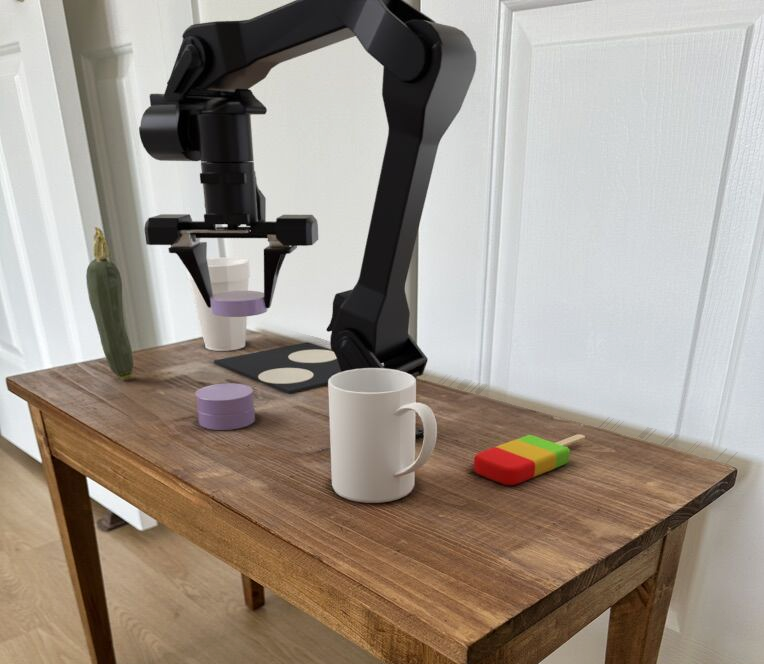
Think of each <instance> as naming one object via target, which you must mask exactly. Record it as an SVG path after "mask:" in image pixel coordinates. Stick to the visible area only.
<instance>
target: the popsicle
mask: <svg viewBox="0 0 764 664" xmlns="http://www.w3.org/2000/svg"><path fill="white" fill-rule="evenodd" d="M585 439H586V435H584V434H581V433H577V434H575V435H572V436H569V437H567V438H564V439H561V440H559V441H556V442H553V441H550V440H547V439H544V438H541V437H538V436H536V435H532V434H527V435H524V436H522V437H521V436H520V437H518V438H516V439H514V440H510V441H508V442H505V443H501V444H499V445H497V446H493V447H491V448H488V449H486V450H483V451H480V452H478V453H476V454H475V455H474V458H473V471H474V472H475V473H476V474H477V475H479V476H482V477H483V478H486V479H488V480H491V481H494V482H496V483H499V484H501V485H505V486H515V485H519V484H521V483H523V482H525V481H528V480H531V479H533V478H536V477H538V476H540V475H543V474H546V473H548V472H550V471H552V470H554V469H557V468H560V467H562V466H564V465H567V464H569V461H570V456H571V449H570V448H569V447H568V446H570V445H572V444H575V443H578V442H580V441H583V440H585Z"/></svg>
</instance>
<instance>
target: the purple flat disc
mask: <svg viewBox="0 0 764 664" xmlns="http://www.w3.org/2000/svg"><path fill="white" fill-rule="evenodd" d="M196 412H197V421H198V424H199V426H200V427H201V428H204V429H207V430H211V431H233V430H238V429H242V428H245V427H249V426H250V425H252V424H253V423H255V421H256V409H255V405H254V406H253V407H252V408H251V409H250V410H248V411H245V412H242V413H238V414H232V415H209V414H204V413H201V412H200V411H198V409H197V408H196Z"/></svg>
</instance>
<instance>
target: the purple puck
mask: <svg viewBox="0 0 764 664" xmlns="http://www.w3.org/2000/svg"><path fill="white" fill-rule="evenodd" d="M194 395H195V403H196V410H197V409H198V411H200V412H201V413H204V414H209V415H232V414H238V413H242V412H245V411H248V410H250V409H251V408H252V407H253V406H254V407H255V398H254V390H253V388H252V386H249V385H246V384H242V383H232V382H231V383H230V382H227V383H225V382H224V383H217V384H211V385H207V386H204V387H201V388H199V389H197V390H196V391H195V394H194Z"/></svg>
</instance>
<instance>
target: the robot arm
mask: <svg viewBox="0 0 764 664" xmlns="http://www.w3.org/2000/svg"><path fill="white" fill-rule="evenodd" d="M181 36H182V40H181V41H182V42H181V45H180V47H179V50H178V53H177V55H176V58H175V61H174V64H173V67H172V70H171V73H170V76H169V78H168V80H167V82H166V84H167V85H166V88H165V90H164V93H150V94H149V103H150V106H148V107H147V108H146V109H145V111H144V112H143V114H142V116H141V119H140V125H139V127H138V131H139V132H138V134H139V137H140V141H141V144H142V147H143V149H144V150H145V152H146V153H147V154H148V155H149V156H150V157H151V158H153V159H154V160H157V161H161V162H200V168H201V172H199V181H200V184H201V185H202V189H203V190H202V191H203V199H204V200H203V201H204V209H205V213H204V214H203V220H193V219H192V215H191V214H187V213H185V214H181V213H180V214H179V213H177V214H176V213H173V214H172V213H171V214H170V213H169V214H168V213H161V214H158V215H154V216H151V217H148V218H147V220H146V221H145V224H144V229H143V231H144V236H145V244H146V245H148V246H170V247H168V253H169V254H175V255H177V257H178V258H179V259H180V260H181V263H182V264H183V266H184V267H185V268H187V269H186V271H187V270H188V271H189V273H190V274H191V276H192V278H193V280H194V282H195V283H196V285H197V287H198V289H199V291H200V293H201V295H202V297H203V299H204V301H205V303H206V305H207V306H208V308H211V305H210V296H211V295H213V292H212V286H211V281H210V275H209V270H208V264H207V258H208V257H207V252H208V243H207V241H201V239H267V242H268V243H269V245H268V246H266V247H264V248H263V293H264V299H265V306H266V308H268V309H270V308H271V306H272V302H273V299H274V295H275V291H276V286H277V282H278V278H279V274H280V272H281V269H282V266H283V263H284V261H285V258H286V256H287V255H290V254H292V253H293V252H294V251H296V249H297V248H298V246H299V247H307V246H313V245H314V244H316V242H318V241H319V223H318V219H317V218H316V217H315V216H314V215H313V214H282V215H280V216H278V217H276V219H275V221H273V220H272V221H271V220H270V221H268V220H266V219H267V218H266V217H267V215H266V213H267V212H266V211H267V209H266V208H267V207H266V204H267V203H266V201H267V198H266V196H265V195H264V193H263V192H262V191H261V190H260V189H259V185H258V182H257V181H258V180H257V175H256V170H255V162H254V161H255V159H254V145H253V129H252V116H253V115H254V116H255V115H258V116H260V115H266V114H267V111H268V109H267V107H266V106H265V105H264V104H263V102H261V101H260V100H259V99H258V98H257V97H256V95H254V93H253V91H252V90H251V88H252V87H254V86H255V85H257V84H258V83H260V82H262V81H263V80H265V79H266V78H267V76H268V75H269V73H270V71H271V70H272V69H273V68H275V67H276V66H278V65H280V64H282V63H284V62H288V61H290V60H292V59H295V58H298V57H301V56H303V55H306V54H309V53H312V52H315V51H318V50H320V49H323V48H326V47H329V46H331V45H334V44H338V43H340V42H343V41H346V40H348V39H351V38H354V37H355V38H357V41H358V42H359V43H360V44H361V46H362V48H363V49H364V50H365V51H366V52H367V54H369V55H370V56H371V57H372V58H373V59H374V60H376V61H377V62H378V63H379V64H380V65H381V66H383V70H382V83H381V84H382V85H381V97H382V102H383V106H384V112H385V117H386V122H387V127H388V129H387V130H388V131H387V138H386V143H385V149H384V153H383V157H382V158H383V159H382V164H381V169H380V173H379V177H378V182H377V188H376V193H375V197H374V203H373V208H372V213H371V217H370V222H369V226H368V227H369V228H368V232H367V237H366V242H365V247H364V251H363V255H362V256H363V257H362V261H361V267H360V271H359V276H358V279H357V282H356V284H355V285H354V286H353V288H351V289H349V290H345V291H341V292H338V293H337V292H336V294H334V298H333V301H332V311H331V318H330V322H329V324H328V325H327V327H326V332H328V333H329V332H331V333H330V340H329V341H330V342H329V345H330V349H331V350H332V351H333V352H334V353H335V355H336V358H337V360H338V363H339V366H340V369H341V372H344V371H348V370H354V369H363V368H383V369H393V370H398V371H402V372H406V373H408V374H410V375H412V376H413V377H414V378H415V379H416V378H417V377H421V376H422V375H424V372H425V369H426V367H427V364H428V360H429V359H428V357H427V355H426V354H425V353H424V352H423V351H422V349H421V348H420V347H419V345H418V344H417V343H416V341H415V340H414V339H413V338H412V336H411V335H410V334H409V326H410V318H411V317H410V315H411V313H410V307H409V304H408V299H407V295H406V283H407V278H408V275H409V271H410V266H411V262H412V257H413V252H414V249H415V245H416V240H417V236H418V232H419V228H420V223H421V220H422V215H423V212H424V207H425V203H426V199H427V195H428V192H429V191H428V190H429V186H430V182H431V179H432V174H433V169H434V165H435V161H436V158H437V153H438V149H439V145H440V142H441V140H442V139H443V136H444V135H445V133H446V132H447V130H448V129H449V128H450V126H451V125H452V123H453V122H454V120H455V119H456V117H457V116H458V114H459V112H460V111H461V108H462V107H463V104H464V103H465V102H464V101H465V100H466V96H467V94H468V91H469V89H470V87H471V84H472V82H473V80H474V77H475V73H476V71H477V70H476V69H477V51H476V50H475V48H474V46H473V44H472V42H471V39H470V38H469V36H468V35H467V34H466V33H465V31H463V30H461V29H459V28H457V27H455V26H451V25H447V24H443V23H438V22H436V21H435V20H434V19H432V18H431V17H430V16H428V15H426V14H425V13H423V12H422V11H420V10H419V9H417V8H416V7H414V6H413V5H411V4H410V3H408V2H407V1H405V0H293V1H290V2H288V3H285V4H284V5H281V6H278V7H275V8H274V9H271V10H269V11H266V12H263V13H262V14H259V15H257V16H254V17H251V18H250V19H241V20H219V21H218V20H217V21H208V22H202V23H201V22H199V23H193V24H191V25H190V26H188V27H187V28H186V29H185V30H184V31H183V33H182V35H181ZM217 225H226V226H217ZM241 225H245V226H241ZM420 437H424V429H423V428H419V427H418V426H417V427H416V426H415V439H417V438H420Z"/></svg>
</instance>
